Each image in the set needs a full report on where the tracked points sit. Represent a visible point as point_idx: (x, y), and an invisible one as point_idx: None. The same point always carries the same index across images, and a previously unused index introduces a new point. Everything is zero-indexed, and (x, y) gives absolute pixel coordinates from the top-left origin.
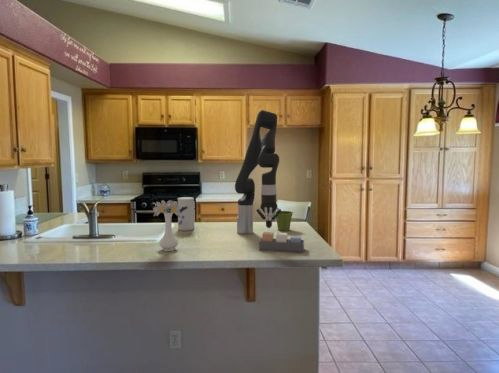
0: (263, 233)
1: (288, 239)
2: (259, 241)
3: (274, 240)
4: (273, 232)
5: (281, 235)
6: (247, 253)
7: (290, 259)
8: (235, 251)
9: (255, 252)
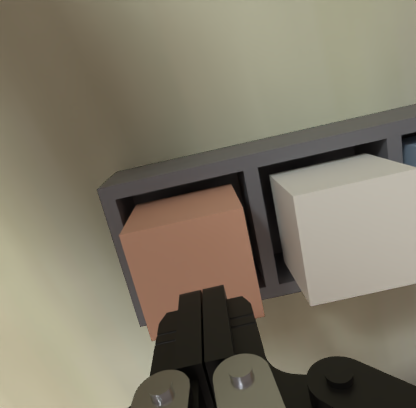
0: (150, 310)
1: (384, 137)
2: (143, 323)
3: (260, 235)
4: (243, 213)
5: (367, 289)
6: (111, 378)
7: (410, 378)
8: (11, 371)
9: (149, 338)
